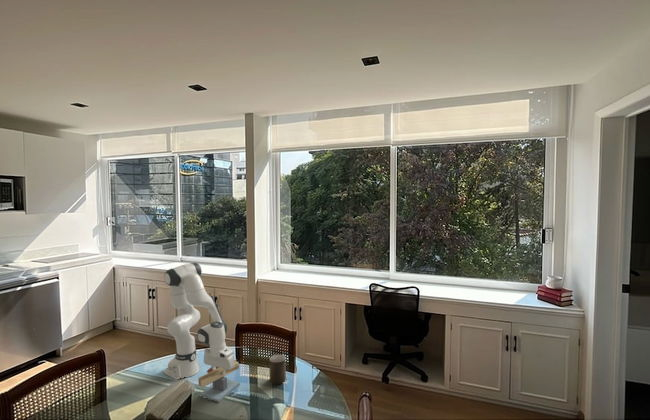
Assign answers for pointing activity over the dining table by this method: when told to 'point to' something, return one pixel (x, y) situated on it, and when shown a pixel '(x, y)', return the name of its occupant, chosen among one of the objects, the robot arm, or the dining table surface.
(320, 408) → the dining table surface
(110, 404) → the dining table surface
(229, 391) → the ridge stand
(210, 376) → the oak rod
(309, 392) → the dining table surface
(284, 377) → the pillar candle
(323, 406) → the dining table surface
